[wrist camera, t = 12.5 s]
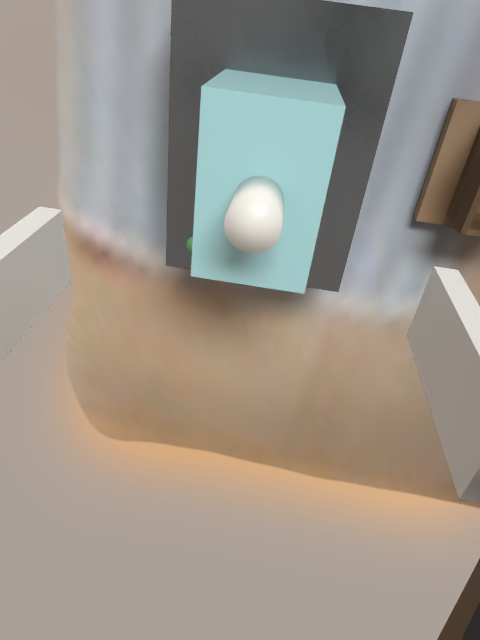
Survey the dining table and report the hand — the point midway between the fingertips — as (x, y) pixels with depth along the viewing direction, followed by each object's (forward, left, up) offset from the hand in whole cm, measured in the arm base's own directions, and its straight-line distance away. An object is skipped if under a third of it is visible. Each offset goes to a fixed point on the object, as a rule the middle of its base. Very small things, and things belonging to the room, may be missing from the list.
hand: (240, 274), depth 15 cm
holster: (-13, -8, -20) cm, 25 cm away
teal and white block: (0, 0, -18) cm, 18 cm away
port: (0, 0, -20) cm, 20 cm away
